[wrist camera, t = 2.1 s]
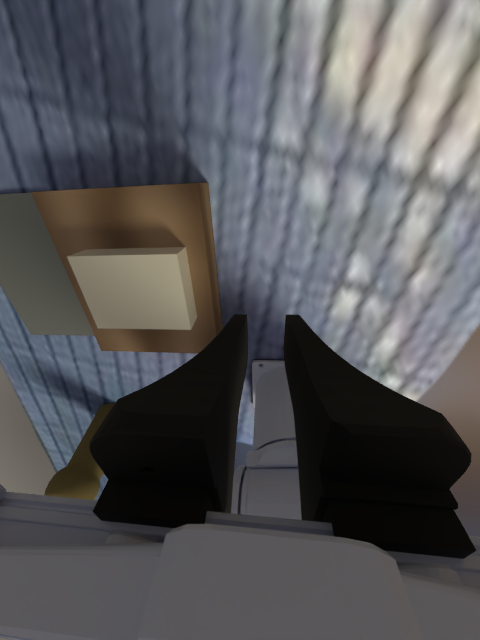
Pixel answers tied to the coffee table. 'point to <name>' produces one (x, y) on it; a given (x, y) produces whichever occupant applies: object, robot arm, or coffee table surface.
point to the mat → (36, 271)
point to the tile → (137, 287)
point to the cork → (80, 467)
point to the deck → (141, 232)
